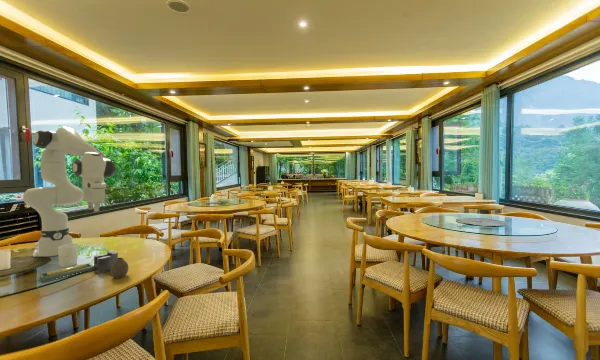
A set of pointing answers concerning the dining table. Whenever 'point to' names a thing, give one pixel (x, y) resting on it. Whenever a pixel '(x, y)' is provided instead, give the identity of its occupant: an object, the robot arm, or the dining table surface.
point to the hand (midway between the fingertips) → (93, 210)
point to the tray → (65, 273)
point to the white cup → (68, 254)
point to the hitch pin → (66, 270)
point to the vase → (119, 268)
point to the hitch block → (105, 261)
